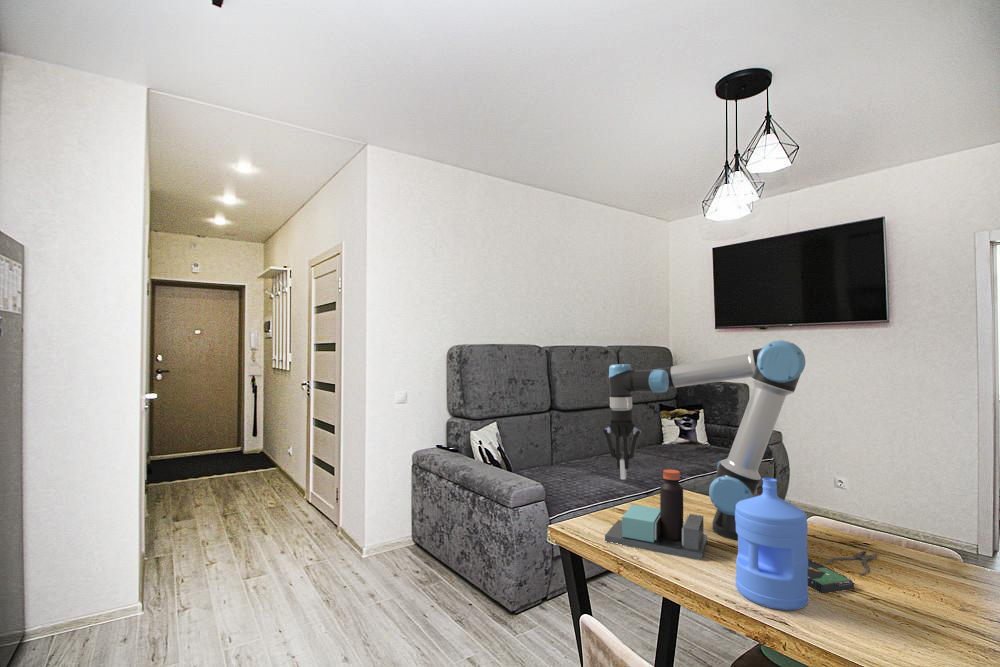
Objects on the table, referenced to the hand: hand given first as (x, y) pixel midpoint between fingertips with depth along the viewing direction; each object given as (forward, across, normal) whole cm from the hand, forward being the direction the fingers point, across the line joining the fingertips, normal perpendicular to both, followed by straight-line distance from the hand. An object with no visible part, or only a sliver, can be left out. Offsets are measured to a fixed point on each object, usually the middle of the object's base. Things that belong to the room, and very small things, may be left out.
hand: (623, 478), depth 168 cm
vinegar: (+15, -16, +9) cm, 24 cm away
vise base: (+16, -12, +10) cm, 22 cm away
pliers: (+18, -64, -1) cm, 66 cm away
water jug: (+17, -42, +32) cm, 56 cm away
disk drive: (+18, -52, +17) cm, 58 cm away
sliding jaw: (+14, -8, +10) cm, 19 cm away
